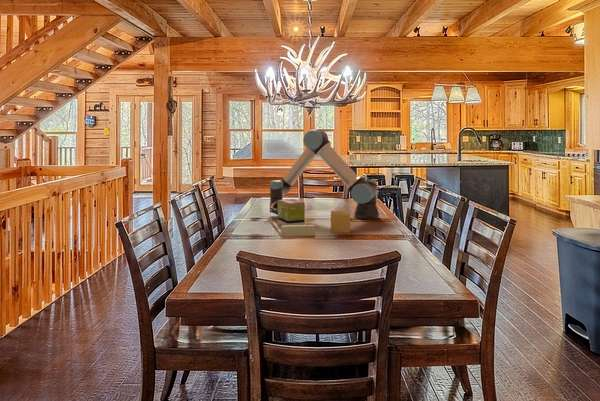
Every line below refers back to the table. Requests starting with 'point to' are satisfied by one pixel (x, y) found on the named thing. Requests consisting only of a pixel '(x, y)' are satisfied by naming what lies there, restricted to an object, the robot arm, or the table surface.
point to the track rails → (274, 223)
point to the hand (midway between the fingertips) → (284, 213)
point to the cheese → (340, 222)
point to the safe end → (297, 230)
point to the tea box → (291, 212)
